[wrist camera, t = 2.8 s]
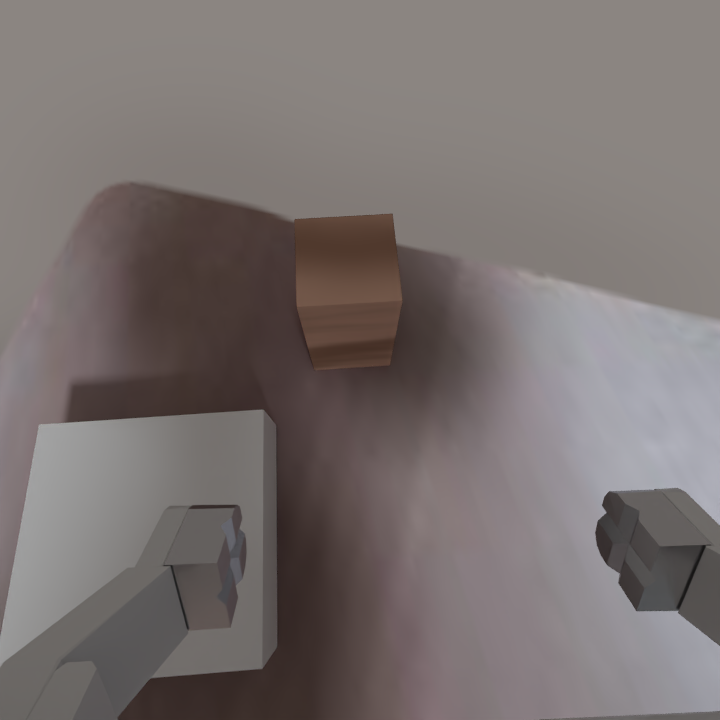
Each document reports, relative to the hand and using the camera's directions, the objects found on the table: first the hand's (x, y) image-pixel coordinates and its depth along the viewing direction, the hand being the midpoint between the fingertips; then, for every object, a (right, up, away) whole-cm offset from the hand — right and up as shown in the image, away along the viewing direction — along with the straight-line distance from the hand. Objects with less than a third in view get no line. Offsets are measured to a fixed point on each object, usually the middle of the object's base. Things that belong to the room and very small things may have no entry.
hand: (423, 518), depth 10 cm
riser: (-12, -7, +16) cm, 21 cm away
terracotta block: (-2, +5, +20) cm, 21 cm away
